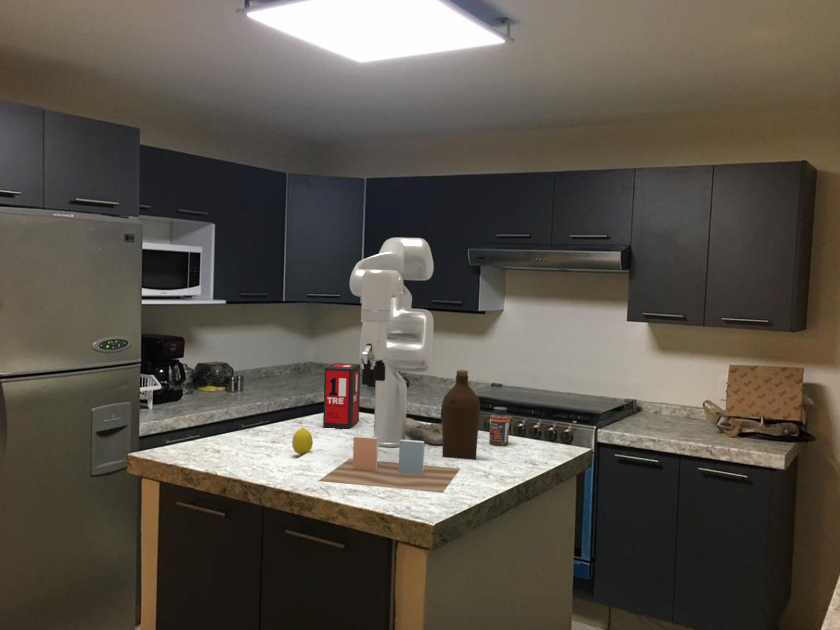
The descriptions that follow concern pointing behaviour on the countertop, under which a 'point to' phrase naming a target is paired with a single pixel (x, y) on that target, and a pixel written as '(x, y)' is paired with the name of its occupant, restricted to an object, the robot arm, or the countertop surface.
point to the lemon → (302, 441)
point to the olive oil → (460, 420)
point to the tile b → (411, 457)
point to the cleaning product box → (341, 396)
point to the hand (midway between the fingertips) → (373, 382)
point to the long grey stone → (424, 431)
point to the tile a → (365, 453)
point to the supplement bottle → (499, 427)
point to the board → (393, 477)
